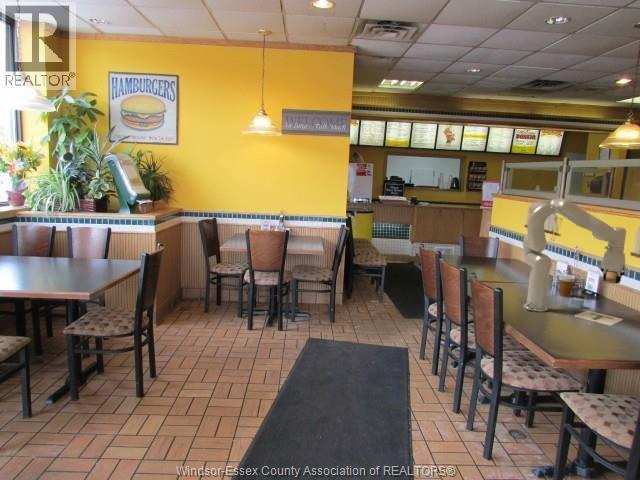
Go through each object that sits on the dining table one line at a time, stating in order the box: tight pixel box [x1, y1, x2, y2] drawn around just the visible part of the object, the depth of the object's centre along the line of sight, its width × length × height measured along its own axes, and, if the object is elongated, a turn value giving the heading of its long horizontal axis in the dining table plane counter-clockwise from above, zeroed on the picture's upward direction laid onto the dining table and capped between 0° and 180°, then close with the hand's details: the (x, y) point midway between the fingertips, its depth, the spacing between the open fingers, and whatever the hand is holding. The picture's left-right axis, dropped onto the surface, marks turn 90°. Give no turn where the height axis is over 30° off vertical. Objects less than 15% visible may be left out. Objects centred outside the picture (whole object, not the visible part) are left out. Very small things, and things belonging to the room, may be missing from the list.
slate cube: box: [569, 297, 585, 309], centre depth 260 cm, size 5×5×5 cm
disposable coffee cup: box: [558, 275, 576, 298], centre depth 286 cm, size 10×10×12 cm
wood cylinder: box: [604, 270, 618, 284], centre depth 250 cm, size 6×6×6 cm
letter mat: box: [573, 310, 624, 326], centre depth 241 cm, size 18×18×1 cm
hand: (611, 281), depth 250 cm, fingers closed on wood cylinder, 5 cm apart
